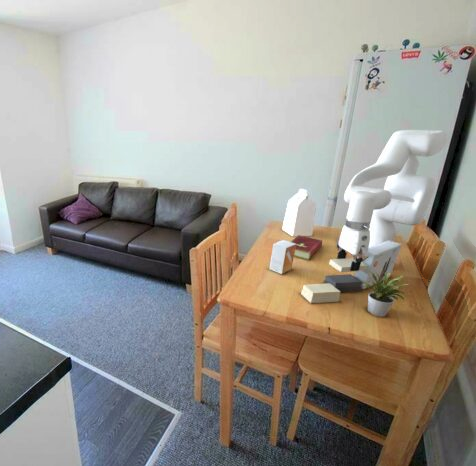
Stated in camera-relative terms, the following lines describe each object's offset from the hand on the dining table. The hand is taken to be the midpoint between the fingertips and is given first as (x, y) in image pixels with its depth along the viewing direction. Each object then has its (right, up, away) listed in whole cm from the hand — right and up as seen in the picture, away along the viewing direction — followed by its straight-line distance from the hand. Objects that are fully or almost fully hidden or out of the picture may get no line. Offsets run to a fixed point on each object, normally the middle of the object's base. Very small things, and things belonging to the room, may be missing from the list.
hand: (347, 265), depth 123 cm
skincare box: (+16, -8, +8) cm, 19 cm away
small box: (-17, -4, +20) cm, 26 cm away
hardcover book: (+4, +4, +38) cm, 39 cm away
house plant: (0, -16, -12) cm, 20 cm away
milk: (+14, +13, +62) cm, 65 cm away
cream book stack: (-13, -12, -3) cm, 18 cm away
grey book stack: (0, -10, +3) cm, 10 cm away
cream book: (0, -1, 0) cm, 1 cm away
